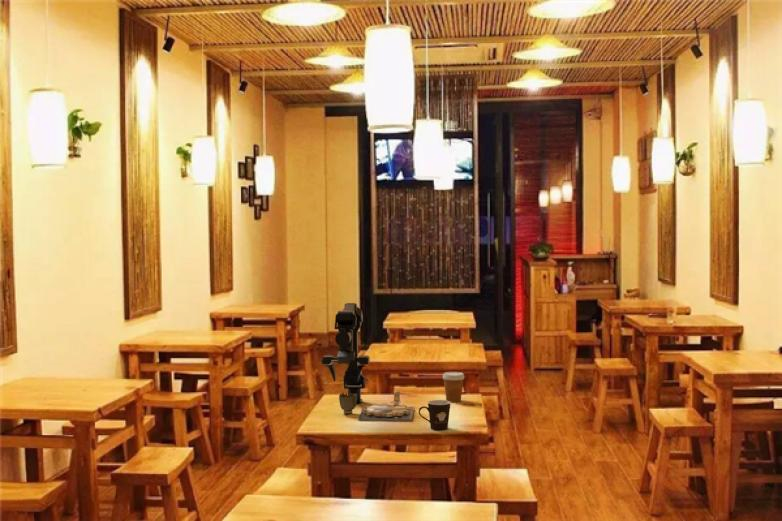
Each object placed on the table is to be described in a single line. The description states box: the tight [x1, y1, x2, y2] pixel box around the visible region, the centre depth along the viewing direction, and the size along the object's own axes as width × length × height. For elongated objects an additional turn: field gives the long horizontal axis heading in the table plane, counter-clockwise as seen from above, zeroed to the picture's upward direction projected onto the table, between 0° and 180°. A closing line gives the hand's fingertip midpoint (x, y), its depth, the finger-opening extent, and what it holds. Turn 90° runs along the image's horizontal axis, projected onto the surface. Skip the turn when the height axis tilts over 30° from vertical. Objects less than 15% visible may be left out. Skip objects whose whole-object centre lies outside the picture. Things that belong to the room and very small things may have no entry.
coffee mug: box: [418, 399, 451, 432], centre depth 322 cm, size 12×9×10 cm
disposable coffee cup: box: [442, 371, 465, 403], centre depth 369 cm, size 10×10×12 cm
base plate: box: [357, 405, 415, 422], centre depth 345 cm, size 21×21×1 cm
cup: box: [338, 392, 357, 415], centre depth 347 cm, size 8×7×8 cm
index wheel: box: [364, 390, 411, 417], centre depth 345 cm, size 20×19×6 cm
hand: (346, 381), depth 340 cm, fingers open, 9 cm apart
